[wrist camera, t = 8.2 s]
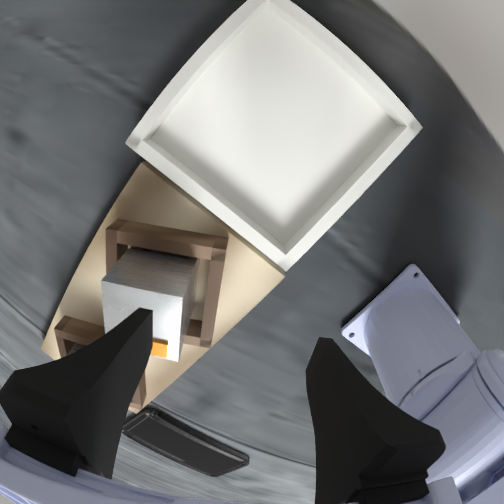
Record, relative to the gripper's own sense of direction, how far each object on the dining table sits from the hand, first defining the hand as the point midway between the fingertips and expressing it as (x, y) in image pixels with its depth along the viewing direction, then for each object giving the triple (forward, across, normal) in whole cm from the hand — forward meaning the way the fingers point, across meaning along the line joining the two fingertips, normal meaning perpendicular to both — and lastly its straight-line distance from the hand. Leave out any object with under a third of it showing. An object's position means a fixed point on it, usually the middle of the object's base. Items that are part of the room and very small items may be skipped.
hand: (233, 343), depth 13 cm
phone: (+10, +2, +26) cm, 28 cm away
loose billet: (+8, +5, +2) cm, 10 cm away
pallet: (+9, +8, +7) cm, 14 cm away
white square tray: (+9, 0, -9) cm, 13 cm away
